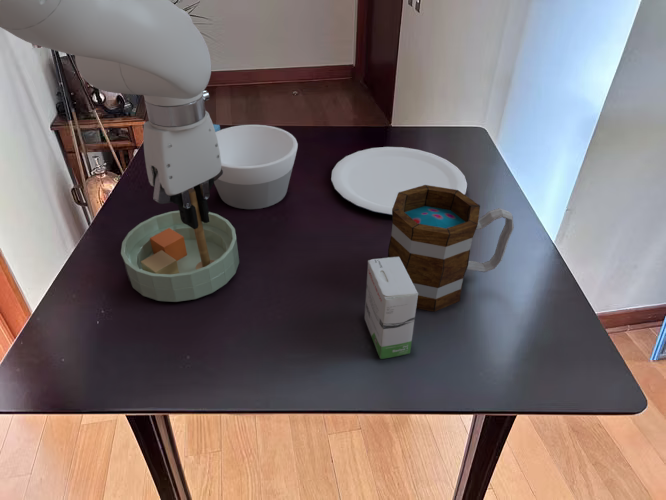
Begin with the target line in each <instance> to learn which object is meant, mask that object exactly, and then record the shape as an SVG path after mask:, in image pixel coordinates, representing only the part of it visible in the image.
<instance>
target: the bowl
mask: <svg viewBox="0 0 666 500" xmlns="http://www.w3.org/2000/svg"><path fill="white" fill-rule="evenodd" d="M215 133H216V136H217V141H218V145H219V151H220V157H221V168H222V170H223V174H222V175H221V176H220V177H219V178H218V179H217V180H216V181H214V184H213V185H214V187H215V188H216V189H215V190H216V191H217V193H218V196H219V197H220V199H221V200H222V201H223V202H224V203H225V204H227V205H228V206H230V207H233V208H235V209H240V210H241V209H242V210H243V209H244V210H259V209H263V208H269V207H271V206H274V205H275V204H278V203H279V202H281V201H282V200H283V199H284V198H285V197H286V195H287V192H288V188H289V184H290V181H291V180H290V179H291V177H292V172H293V167H294V164H295V160H296V156H297V152H298V147H299V143H298V141H297V138H296V137H295V135H293V134H292V133H290V132H289V131H287V130H285V129H283V128H280V127H277V126H272V125H265V124H239V125H234V126H230V127H225V128H222V129H220V131H217V132H215Z"/></svg>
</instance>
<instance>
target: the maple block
mask: <svg viewBox="0 0 666 500" xmlns="http://www.w3.org/2000/svg"><path fill="white" fill-rule="evenodd" d="M141 265H142V269H143V270H144V271H147V272H151V273H155V274H178V273H179V270H178V265H177V261H176V260H175V259H174V258H172V257H171V256H169V255H168V254H167V253H165V252H164V251H162V250H161V251H159V252H157V253H155V254H154V255H152V256H150V257H148V258H146V259H144V260H143V261H141Z"/></svg>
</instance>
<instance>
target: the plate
mask: <svg viewBox="0 0 666 500" xmlns="http://www.w3.org/2000/svg"><path fill="white" fill-rule="evenodd" d="M330 180H331V184H332V186H333V188H334V190H335V191H336V192H337V193H338V194H339V195H340V196H341V198H343V199H344V200H345V201H348V202H349V203H351V204H353V205H355V206H356V207H359V208H361V209H363V210H367V211H370V212H373V213H377V214H383V215H389V216H392V209H393V206H394V203H395V201H396V198H397V195H398V193H399V192H402V191H406V190H409V189H413V188H416V187H419V186H423V185H429V186H436V187H442V188H448V189H455V190H459V191H460V192H461V193H463V194H464V195H466V193H467V187H468V183H467V180H466V176H465V174H464V173H463V172H462V171H461V169H460V168H458V166H456V164H453V163H452V162H450V161H449V160H447V159H446V158H443V157H441V156H440V155H437V154H434V153H431V152H428V151H424V150H421V149H417V148H411V147H410V148H409V147H404V146H403V147H402V146H383V147H370V148H365V149H363V150H357V151H356V152H353V153H351V154H349V155H345V156H344V157H342V159H340V160H339V161H338V162H337V163H336V164H335V165H334V167H333V169H332V170H331V178H330Z"/></svg>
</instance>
